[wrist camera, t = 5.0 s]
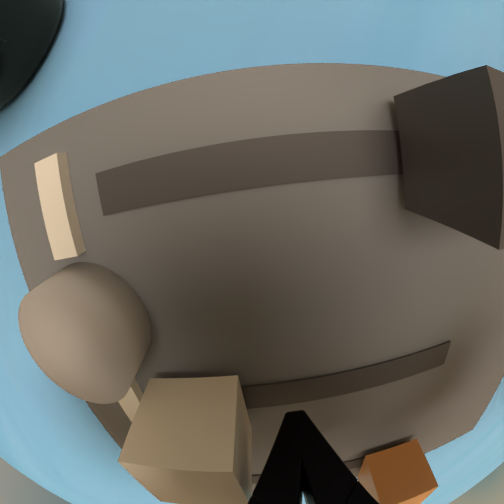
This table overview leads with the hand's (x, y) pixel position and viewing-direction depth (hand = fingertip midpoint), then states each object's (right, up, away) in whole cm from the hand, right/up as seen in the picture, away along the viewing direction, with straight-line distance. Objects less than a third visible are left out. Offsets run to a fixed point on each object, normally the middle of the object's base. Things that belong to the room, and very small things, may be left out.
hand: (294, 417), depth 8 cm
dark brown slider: (+4, +8, -2) cm, 9 cm away
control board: (+2, +1, +2) cm, 3 cm away
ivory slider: (-3, 0, +1) cm, 3 cm away
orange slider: (+6, -6, +3) cm, 9 cm away
